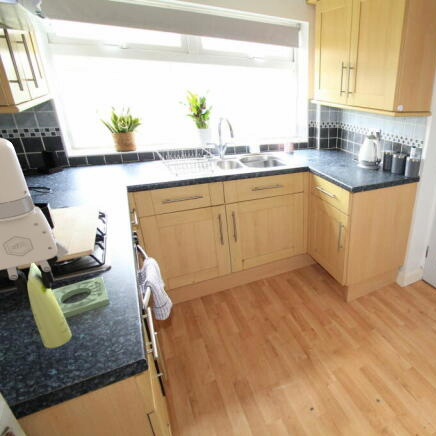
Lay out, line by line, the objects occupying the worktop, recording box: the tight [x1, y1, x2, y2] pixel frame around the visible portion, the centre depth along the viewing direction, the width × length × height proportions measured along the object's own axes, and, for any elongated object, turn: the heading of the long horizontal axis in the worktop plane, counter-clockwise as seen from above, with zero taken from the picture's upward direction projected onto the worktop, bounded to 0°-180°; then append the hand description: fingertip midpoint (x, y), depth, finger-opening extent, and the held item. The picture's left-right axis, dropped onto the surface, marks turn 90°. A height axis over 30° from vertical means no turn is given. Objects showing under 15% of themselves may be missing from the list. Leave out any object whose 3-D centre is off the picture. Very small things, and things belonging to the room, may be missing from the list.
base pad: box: [51, 275, 111, 319], centre depth 91 cm, size 14×14×3 cm
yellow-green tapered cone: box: [27, 262, 73, 349], centre depth 68 cm, size 6×5×20 cm
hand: (37, 287), depth 66 cm, fingers closed on yellow-green tapered cone, 2 cm apart
